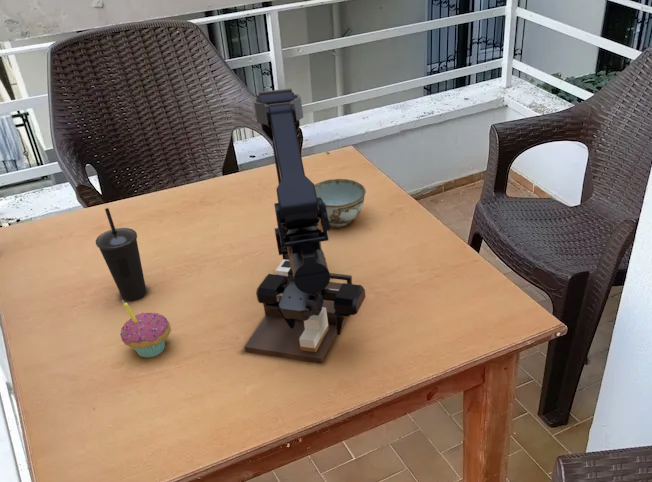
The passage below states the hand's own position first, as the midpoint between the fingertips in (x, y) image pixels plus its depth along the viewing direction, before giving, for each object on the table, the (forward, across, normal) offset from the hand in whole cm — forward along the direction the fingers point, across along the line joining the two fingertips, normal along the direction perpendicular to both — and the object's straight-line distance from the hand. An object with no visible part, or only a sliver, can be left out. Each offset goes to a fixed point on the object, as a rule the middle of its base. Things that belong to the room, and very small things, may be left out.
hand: (316, 330), depth 128 cm
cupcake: (+3, -30, -9) cm, 31 cm away
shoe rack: (+2, -4, +4) cm, 6 cm away
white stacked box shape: (+1, 0, -1) cm, 2 cm away
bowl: (+3, -11, +43) cm, 45 cm away
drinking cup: (+3, -42, +6) cm, 43 cm away
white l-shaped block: (-2, -9, +8) cm, 12 cm away
